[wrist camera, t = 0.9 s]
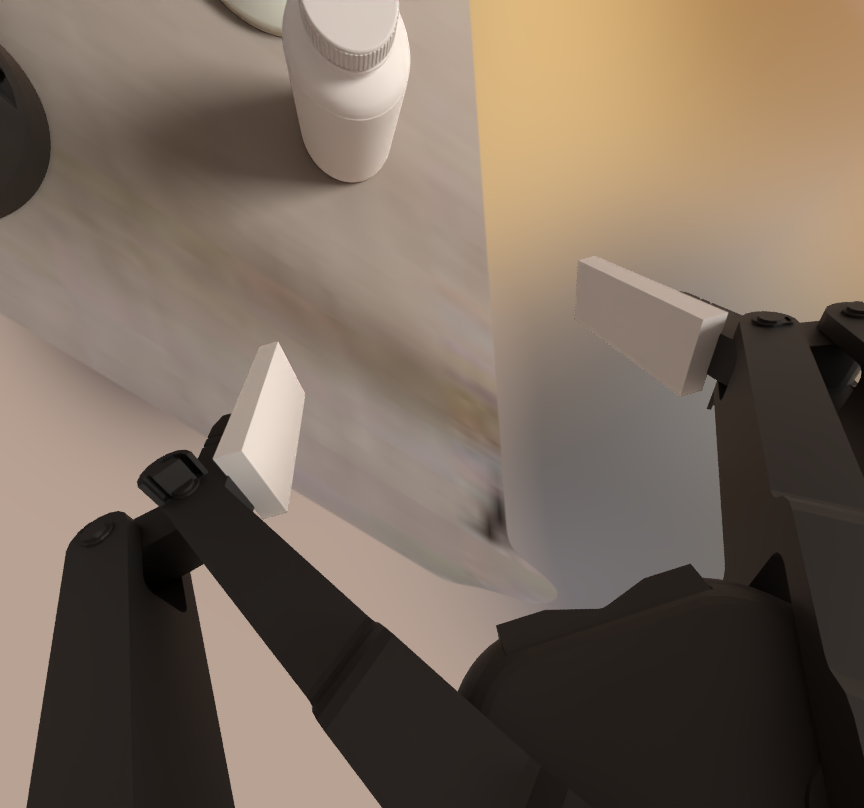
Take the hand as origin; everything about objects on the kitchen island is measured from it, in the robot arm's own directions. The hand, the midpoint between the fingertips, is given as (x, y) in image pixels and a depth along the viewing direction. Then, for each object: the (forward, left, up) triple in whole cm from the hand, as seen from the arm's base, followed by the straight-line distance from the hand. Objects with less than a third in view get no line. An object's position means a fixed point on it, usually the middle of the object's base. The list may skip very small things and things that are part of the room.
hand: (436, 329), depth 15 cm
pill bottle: (-11, +14, -23) cm, 29 cm away
